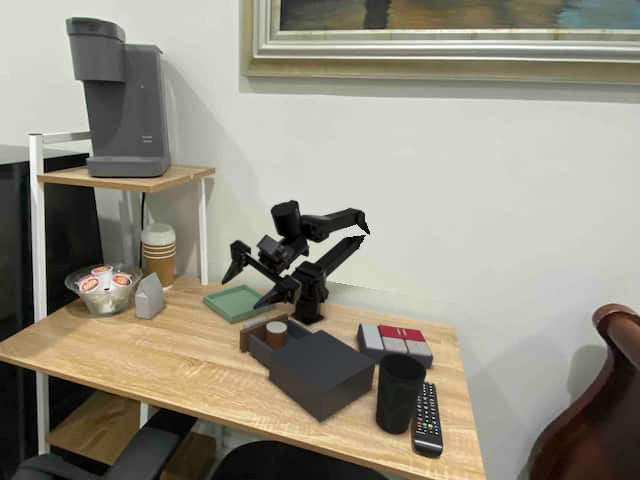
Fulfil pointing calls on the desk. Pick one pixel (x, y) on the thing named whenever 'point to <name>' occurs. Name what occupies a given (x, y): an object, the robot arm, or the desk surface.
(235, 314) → the tray
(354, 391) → the dark grey box
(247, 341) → the drawer
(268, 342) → the pod
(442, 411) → the desk surface
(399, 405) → the cup
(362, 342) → the red and grey box
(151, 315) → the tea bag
